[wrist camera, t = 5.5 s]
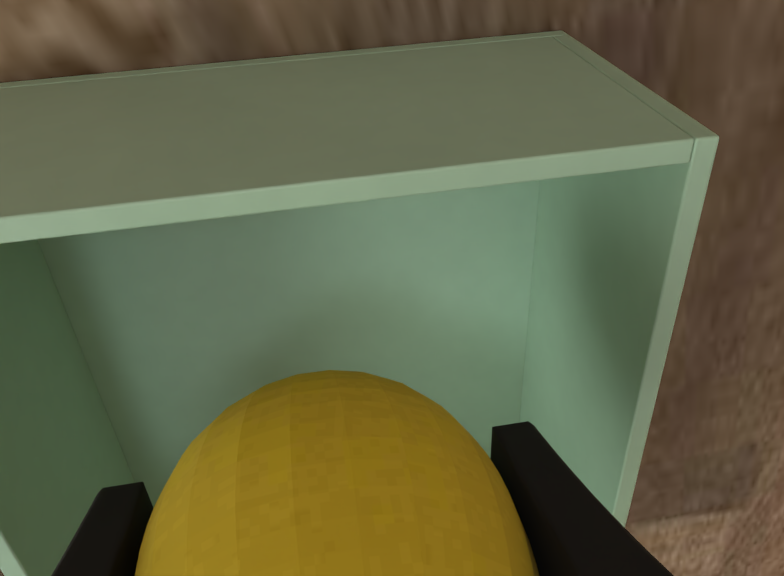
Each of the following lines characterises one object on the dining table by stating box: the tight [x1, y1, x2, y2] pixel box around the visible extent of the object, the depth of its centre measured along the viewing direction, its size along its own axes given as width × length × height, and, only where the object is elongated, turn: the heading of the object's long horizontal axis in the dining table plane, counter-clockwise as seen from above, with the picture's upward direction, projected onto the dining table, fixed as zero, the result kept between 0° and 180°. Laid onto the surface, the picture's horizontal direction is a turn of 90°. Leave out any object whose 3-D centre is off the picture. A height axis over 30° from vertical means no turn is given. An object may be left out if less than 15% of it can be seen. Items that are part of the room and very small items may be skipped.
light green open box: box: [0, 30, 719, 576], centre depth 17 cm, size 17×13×6 cm
